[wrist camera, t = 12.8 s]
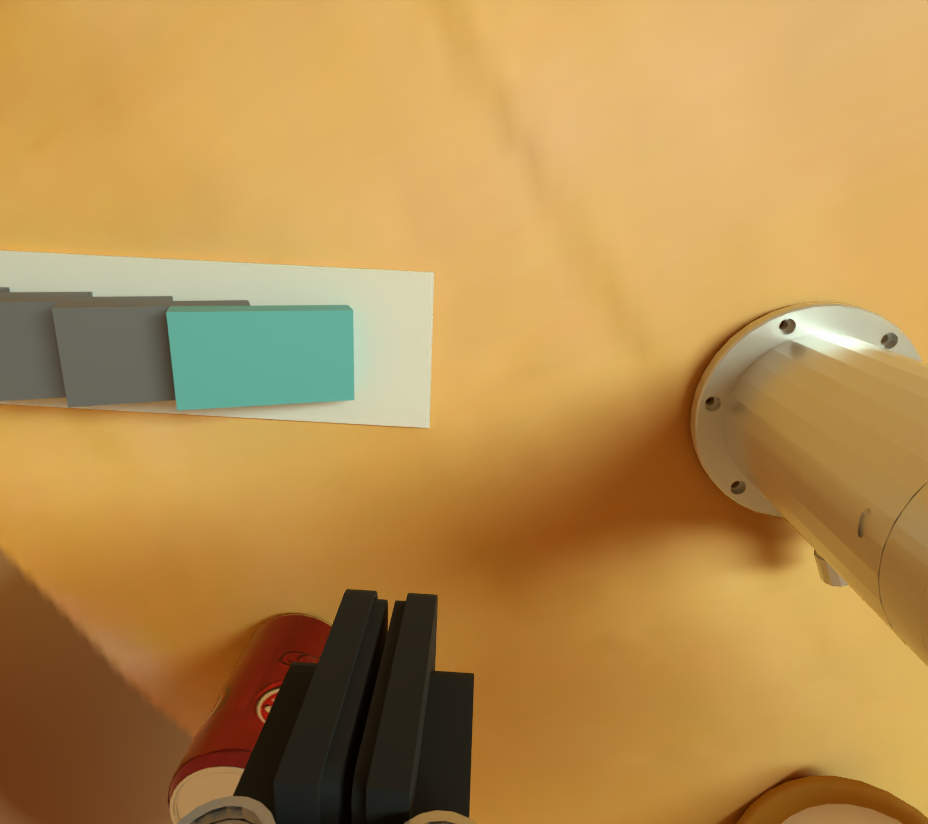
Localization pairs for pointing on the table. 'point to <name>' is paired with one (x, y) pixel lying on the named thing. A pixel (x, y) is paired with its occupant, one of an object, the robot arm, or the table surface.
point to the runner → (365, 290)
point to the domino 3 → (261, 355)
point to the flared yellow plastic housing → (830, 804)
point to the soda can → (243, 710)
